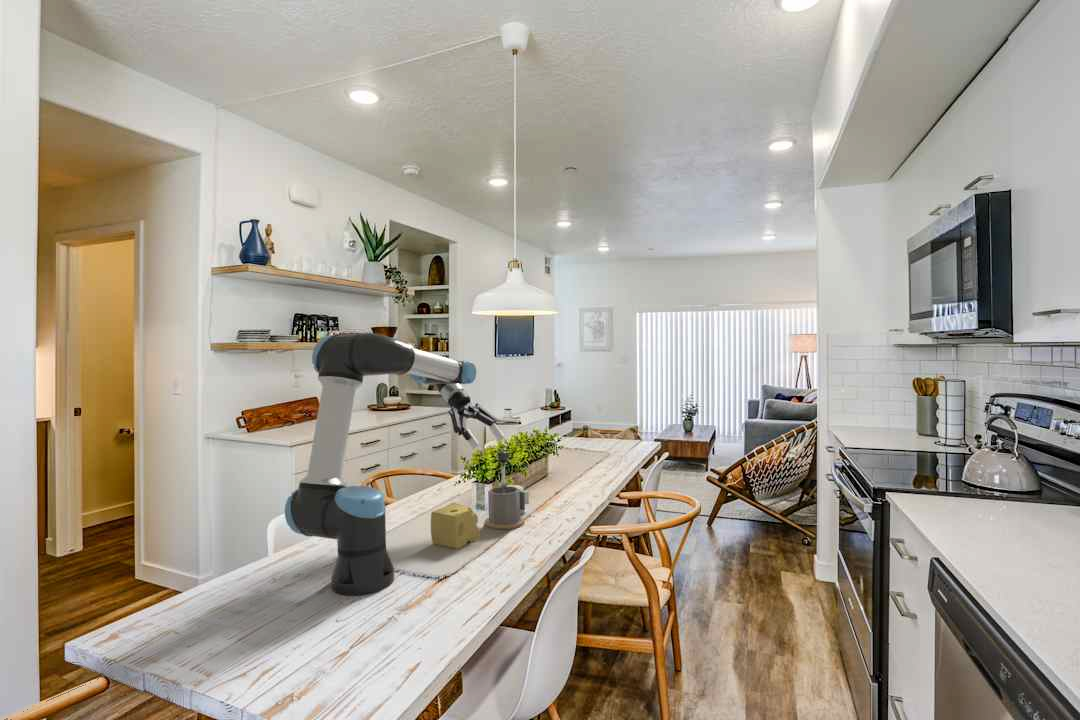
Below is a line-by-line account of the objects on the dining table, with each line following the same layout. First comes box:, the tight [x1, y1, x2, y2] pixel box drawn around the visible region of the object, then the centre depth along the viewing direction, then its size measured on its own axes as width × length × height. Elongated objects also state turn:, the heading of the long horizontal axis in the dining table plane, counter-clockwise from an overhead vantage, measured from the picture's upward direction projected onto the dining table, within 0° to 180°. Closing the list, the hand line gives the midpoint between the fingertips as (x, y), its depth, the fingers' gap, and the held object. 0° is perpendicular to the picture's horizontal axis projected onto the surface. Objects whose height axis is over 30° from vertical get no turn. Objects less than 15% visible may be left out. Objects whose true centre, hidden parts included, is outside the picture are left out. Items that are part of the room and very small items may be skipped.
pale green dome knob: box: [508, 484, 530, 516], centre depth 195 cm, size 8×10×9 cm
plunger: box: [496, 450, 509, 494], centre depth 184 cm, size 6×6×16 cm
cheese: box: [430, 502, 480, 550], centre depth 169 cm, size 10×11×10 cm
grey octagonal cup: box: [484, 485, 526, 531], centre depth 185 cm, size 13×13×11 cm
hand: (489, 443), depth 189 cm, fingers open, 13 cm apart
